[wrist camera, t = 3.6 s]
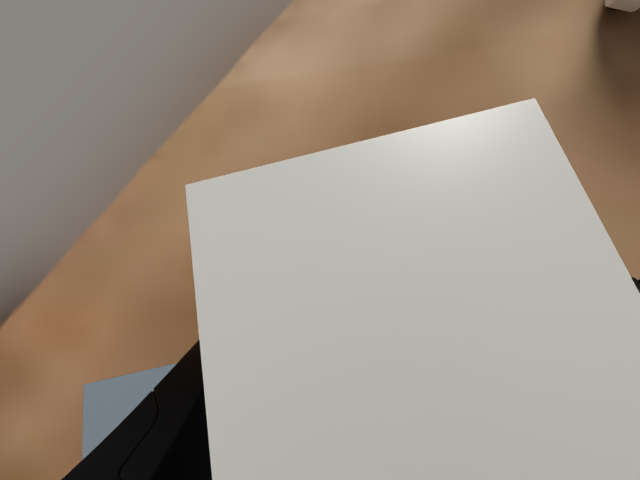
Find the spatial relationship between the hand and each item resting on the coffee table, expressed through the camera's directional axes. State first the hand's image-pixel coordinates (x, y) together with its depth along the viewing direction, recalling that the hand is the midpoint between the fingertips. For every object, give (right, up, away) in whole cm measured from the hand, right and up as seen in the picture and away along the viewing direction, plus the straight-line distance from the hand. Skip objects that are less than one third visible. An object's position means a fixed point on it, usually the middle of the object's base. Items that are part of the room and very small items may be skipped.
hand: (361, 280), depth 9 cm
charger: (+1, -3, +4) cm, 5 cm away
